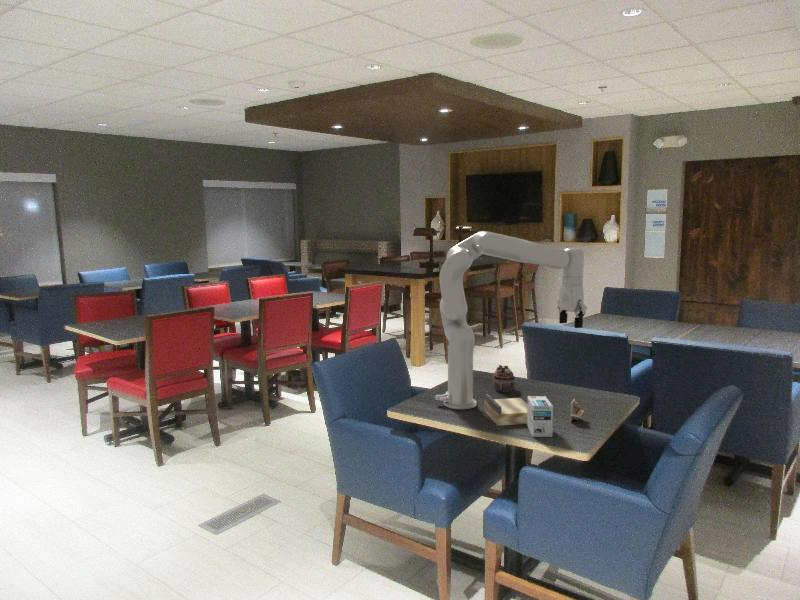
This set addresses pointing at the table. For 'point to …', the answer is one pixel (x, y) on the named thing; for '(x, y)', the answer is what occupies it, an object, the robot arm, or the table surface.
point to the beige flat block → (506, 410)
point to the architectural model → (575, 411)
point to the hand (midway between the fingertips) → (570, 325)
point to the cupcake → (503, 379)
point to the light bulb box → (540, 416)
